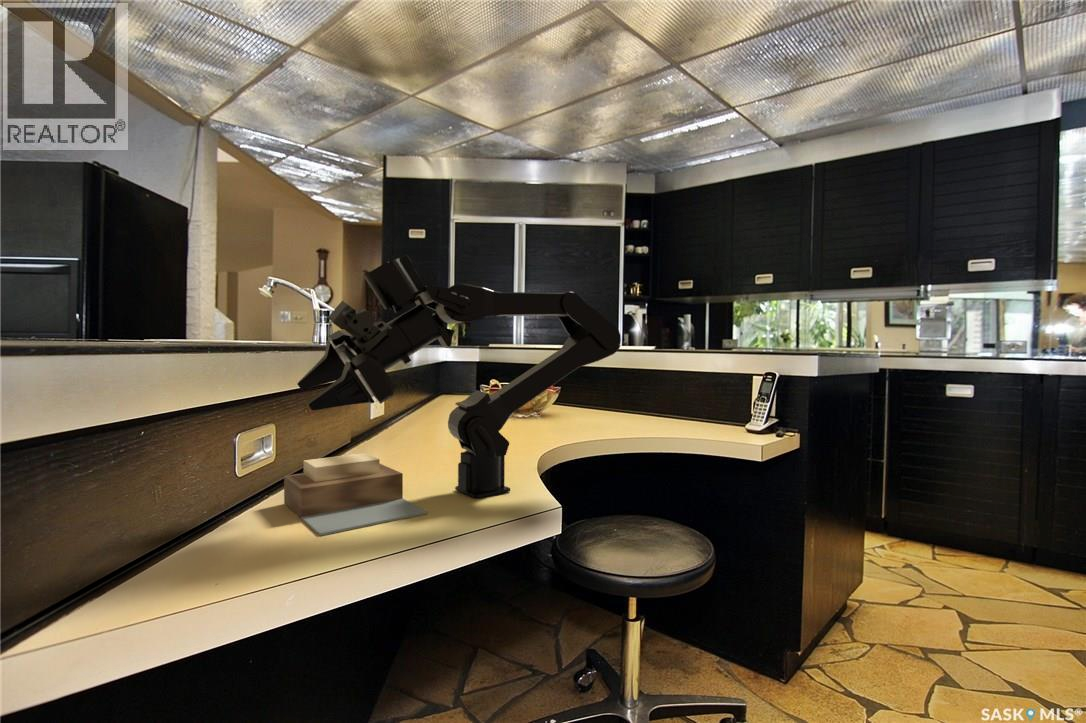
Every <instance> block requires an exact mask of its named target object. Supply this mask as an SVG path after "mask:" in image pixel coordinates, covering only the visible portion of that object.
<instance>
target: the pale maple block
mask: <svg viewBox="0 0 1086 723" xmlns="http://www.w3.org/2000/svg"><path fill="white" fill-rule="evenodd" d="M380 464H381V463H380V458H377V457H374V456H373V455H370V454H368V453H365V452H362V453H354V454H346V455H338V456H330V457H322V458H314V459H313V458H312V459H305V460H303V473H304V475H306V476H307V477H309V478H310V479H312V480H313V481H315V482H320V481H327V480H333V479H340V478H347V477H354V476H361V475H368V474H374V473H380Z"/></svg>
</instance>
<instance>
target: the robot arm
mask: <svg viewBox="0 0 1086 723" xmlns="http://www.w3.org/2000/svg"><path fill="white" fill-rule="evenodd" d="M363 277H364V279H365V280H366V282H367V283H368V285H369V286H370V288H371V290H372V291H373V293H374V294H375V296H376V297H377V300H379V302H380V304H381V305H382V306H383V309H384V310H388V309H389V310H390V311H392V310H393V311H394V313H395V314H396V313H398V312H400V311H401V310H403V309H405V308H407V307H408V306H410V305H412V304H414V303H415V304H416V306H414V307H413V308H411V309H410V310H407V311H406V312H404V313H403V314H401V315H399V316H397V317H395V318H394V319H391V320H390V321H389V322H387V323H386V322H384V321H381V320H379V321H377V322H375V319H376V316H375V315H374V314H372V313H371V312H370V311H369V310H367V309H365V307H363V308H360V309H358V310H356V309H354V308H353V307H352V306H350V304H348V303H347V302H345V301H344V300H342V301H340V302H339V304H338V305H337V306H336V307H335V308H334V310H332V312H331V313H330V314H329V315H328V316H327V319H329V320H331V323H332V324H334V325H335V326H337V327H338V328H339V329H338V330H337V331H335V332H332V333H331V334H329V335H328V339H327V340H326V342H325V345H326V346H325V350H324V355H323V356H322V357H321V359H319V361H318V362H317V363H316V364H315V365H314V366H313V367H312V368H311V369H310V370H308V372H307V373H306V374H304V375H303V377H302V378H301V379H300V380H299V381H298V382H297V386H298V388H299V389H300V390H306V389H310V388H314V387H318V386H321V385H325V384H328V383H332V384H329V386H328V387H326V388H325V389H324V390H322V391H321V392H320V393H319V394H318V395H316V396H315V397H313V399H311V401H309V402H308V404H307V405H308V407H309V409H310V410H311V411H319V410H326V409H332V408H337V407H344V406H350V405H359V404H366V403H367V404H368V403H370V404H374V403H375V400H374V399H376V401H377V402H378V403H379V404H380V405H381V404H383V403H384V402H386V401H387V400H389V399H390V398H392V397H394V396H393V395H394V392H395V389H396V386H395V384H394V382H393V381H392V380H391V378H390V376H389V374H388V373H387V371H388V370H390V369H391V368H392V367H394V366H395V365H397V364H399V363H401V362H402V363H403V364H404V365H407V364H408V363H410V362H411V361H412V360H411V357H410V356H412V355H413V354H415V353H417V352H418V351H420V350H422V349H423V348H424V347H426V346H428V345H429V344H431V343H433V342H434V341H437V340H438V342H439V344H440V345H441V347H444V348H447V347H451V346H452V344H453V343H452V341H453V336H454V333H455V330H454V329H452V328H451V329H450V328H448V327H446V325H445V323H447V324H451V325H452V324H453V325H454V324H455V325H456V324H462V323H467V322H472V321H476V320H482V319H486V318H491V317H517V316H518V317H521V316H522V317H523V316H524V317H527V316H529V317H532V316H533V317H535V316H541V317H542V316H548V317H549V316H554V317H556V318H557V319H558V320H559V322H560V323H561V326H562V327H563V329H564V331H565V333H566V334H568V338H567V339H566V341H564V343H563V345H562V347H561V348H560V349H558V350H557V351H555V352H554V353H552V354H550V355H549V356H548V357H546V358H545V359H543V360H541V361H540V362H539V363H537V364H536V365H534V366H533V367H531V368H529V369H528V370H527V371H525V372H523V373H522V374H521V375H519V376H517V377H515V378H514V379H513V380H511V381H510V382H509V383H507V384H506V385H504V386H502V387H501V388H499V389H498V390H496V391H495V392H493V393H490V394H489V393H488V392H484V391H481V390H475V391H473V392H472V393H471V394H469V395H468V397H467V398H465V399H464V400H461V401H457V402H455V406H457V407H455V408H454V409H453V410H452V411H451V412H450V413H449V416H448V421H447V427H448V430H449V433H450V435H452V437H453V438H454V439H455V438H456V439H457V440H458V442H459V445H460V448H461V449H462V450H465V451H461V452H460V462H458V463H457V486H455V487H454V488H455V491H458V492H460V493H463V494H465V495H468V496H469V497H472V498H475V499H477V498H484V497H488V496H489V497H490V496H494V495H498V494H503V493H509V492H511V487H508V486H506V485H505V467H506V466H505V463H506V462H505V460H506V459H505V456H506V455H507V452H508V449H509V446H510V441H509V440H508V439H507V438H505V436H503V434H502V433H501V432H500V431H501V430H502V429H503V427H504V426H505V425H506V423H507V422H508V420H509V418H510V417H511V416H512V415H513V414H514V413H515V412H516V411H518V410H519V409H522V407H524V406H526V404H528V403H529V402H531V401H532V400H534V399H535V398H537V397H538V396H539V395H541V394H542V393H544V392H546V391H547V390H548V389H550V388H551V387H553V386H554V385H556V384H557V383H558V382H560V381H562V380H563V379H564V378H566V377H567V376H568V375H570V374H571V373H573V372H574V371H576V370H578V368H581V367H585V366H587V365H590V364H593V363H596V362H599V361H602V360H603V359H606V358H608V357H610V356H613V355H615V354H616V353H617V352H618V351H619V349H620V347H621V337H622V336H621V333H620V330H619V329H618V327H617V326H616V325H615V324H614V323H613V322H609V321H608V320H607V319H606V318H605V317H604V316H603V314H601V313H600V312H598V311H597V310H595V309H594V308H593V307H592V306H590V305H589V304H587V303H586V302H585V301H584V300H583V299H582V298H581V296H580V295H579V294H577V293H576V292H574V291H569V290H568V291H563V292H534V291H532V292H529V291H528V292H527V291H526V292H524V291H522V292H521V291H520V292H519V291H513V292H512V291H503V292H502V291H497V290H492V289H489V288H487V287H483V286H478V285H473V284H468V283H463V282H462V283H456V284H453V285H450V286H448V287H444V286H437V285H426V286H425V285H424V283H423V281H422V280H421V278H420V276H419V275H418V273H417V271H416V270H415V268H414V266H413V263H412V260H411V259H410V257H409V256H408V255H407V254H404V255H403V256H401V257H399V258H396V259H394V260H392V261H387V262H385V263H383V264H381V265H379V266H377V267H375V268H374V269H373V270H370V271H369V272H368V273H366V274H365V275H364V276H363ZM430 309H431V310H433V311H435V313H432V312H431V310H430ZM340 329H341V330H340ZM329 340H330V341H331V342H330V341H329Z"/></svg>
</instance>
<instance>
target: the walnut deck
mask: <svg viewBox="0 0 1086 723" xmlns="http://www.w3.org/2000/svg"><path fill="white" fill-rule="evenodd" d="M403 476H404V475H403V472H400V471H398V470H396V469H394V468H391V467H389V466H387V465H384V464H382V463H380V473H374V474H368V475H361V476H354V477H347V478H340V479H333V480H327V481H320V482H315V481H313V480H312V479H310V478H309V477H307V476H306V475H304V472H303V473H302V472H301V473H294V474H287V475H284V476H283V485H284V486H283V497H284V498H283V499H284V500H283V502H284V503H283V504H284V505H285V506H286V507H288V509H290V510H291V512H293V513H294V514H295V515H296V516H297V517H298V518H299V519H301V517H304V516H309V515H315V514H320V513H326V512H331V511H337V510H342V509H348V508H353V507H359V506H364V505H369V504H375V503H380V502H386V501H391V500H397V499H402V498H403V492H404V490H403V488H404V487H403V483H404V482H403ZM403 499H404V498H403Z"/></svg>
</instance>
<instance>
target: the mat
mask: <svg viewBox="0 0 1086 723" xmlns="http://www.w3.org/2000/svg"><path fill="white" fill-rule="evenodd" d="M427 514H428V510H426V509H424V508H422V507H420V506H418V505H417V504H414V503H412V502H410V501H408V500H407V499H405V498H402V499H397V500H391V501H386V502H380V503H375V504H369V505H364V506H359V507H353V508H348V509H342V510H337V511H331V512H326V513H320V514H315V515H309V516H304V517H301V518H300V519H301V521H303V522H304V523H305V524H306V525H307V526H308V527H310V528H311V529H312V530H313V531H314V532H315V533H316V534H317V535H318V536H320V537H321V536H327V535H332V534H337V533H342V532H347V531H350V530H356V529H360V528H365V527H370V526H371V527H372V526H374V525H375V526H376V525H379V524H384V523H389V522H394V521H398V520H399V521H400V520H403V519H408V518H412V517H417V516H422V515H427Z"/></svg>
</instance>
